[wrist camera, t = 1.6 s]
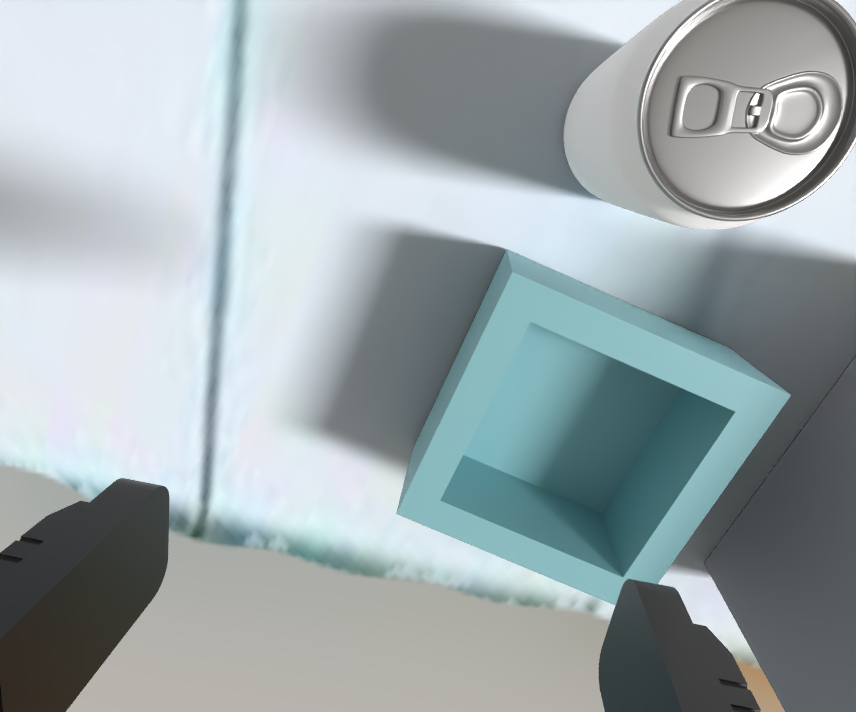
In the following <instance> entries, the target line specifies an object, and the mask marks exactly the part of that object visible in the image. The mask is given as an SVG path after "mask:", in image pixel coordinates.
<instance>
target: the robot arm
mask: <svg viewBox="0 0 856 712" xmlns="http://www.w3.org/2000/svg"><path fill="white" fill-rule="evenodd" d="M168 534H169V492H168V489H167V488H166V487H165V486H160V485H155V484H150V483H145V482H140V481H135V480H130V479H125V478H121V479H118V480H116V481H115V482H113V483H112V484H111V485H110V486H109V487H108V488H106V489H105V490H104V491H103V492H102V493H100V494H99V495H98V496H97V497H96V498H94V499H93V500H92V501H91V502H90V503H89V502H84V501H79V502H77V503H75V504H73V505H70V506H68V507H66V508H64V509H61V510H60V511H57V512H55V513H52V514H50V515H48V516H46V517H45V518H44V519H42V520H41V521H40V522H39V523H37V524H36V525H35V526H34V527H33V528H31V529H30V530H29V531H27V532H26V533H25V534H23V535H22V536H21V539H20V541H15V542H13V543H12V544H11V545H10V546H8V547H7V548H6V549H5V550H3V551H2V552H1V553H0V712H66V710H67V709H68V708H69V707H70V705H71V704H72V703H73V701H74V700H75V699H76V697H77V696H78V695H79V694H80V692H81V691H82V690H83V688H84V687H85V686H86V685H87V683H88V682H89V681H90V679H91V678H92V677H93V675H94V674H95V673H96V672H97V670H98V669H99V668H100V666H101V665H102V664H103V663H104V661H105V660H106V659H107V657H108V656H109V655H110V654H111V652H112V651H113V650H114V648H115V647H116V646H117V644H118V643H119V642H120V641H121V639H122V638H123V637H124V635H125V634H126V633H127V632H128V630H129V629H130V628H131V626H132V625H133V624H134V623H135V621H136V620H137V619H138V617H139V616H140V615H141V613H142V612H143V611H144V609H145V608H146V607H147V606H148V604H149V603H150V602H151V601H152V599H153V598H154V596H155V595H156V593H157V592H158V590H159V588H160V586H161V583H162V581H163V578H164V575H165V572H166V568H167V562H168ZM599 684H600V692H601V696H602V701H603V705H604V709H605V712H760V708H759V706H758V704H757V702H756V700H755V698H754V696H753V694H752V692H751V691H750V690H748V689H747V683H746V681H745V679H744V677H743V675H742V673H741V671H740V669H739V667H738V665H737V663H736V661H735V659H734V657H733V655H732V654H731V653H730V652H729V650H728V649H727V648H726V647H725V646H724V645H723V644H722V643H721V642H720V641H719V640H718V639H717V638H716V636H715V635H714V634H713V633H712V632H711V631H710V630H709V629H708V628H707V627H706V626H702V625H697V624H693V623H692V620H691V618H690V616H689V614H688V612H687V610H686V607H685V605H684V603H683V601H682V599H681V597H680V595H679V593H678V591H677V590H676V589H675V588H673V587H669V586H664V585H658V584H653V583H648V582H643V581H638V580H633V579H627V580H626V581H625V582H624V584H623V586H622V588H621V591H620V594H619V597H618V600H617V603H616V606H615V609H614V612H613V615H612V618H611V621H610V624H609V627H608V631H607V634H606V637H605V640H604V643H603V646H602V649H601V654H600V660H599Z"/></svg>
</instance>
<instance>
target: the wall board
mask: <svg viewBox="0 0 856 712" xmlns="http://www.w3.org/2000/svg"><path fill="white" fill-rule="evenodd" d="M704 564H705V566H706V568H707V569H708V571H709V573H710V575H711V577H712V579H713V580H714V582H715V584H716V586H717V588H718V590H719V591H720V593H721V595H722V597H723V599H724V601H725V602H726V604H727V606H728V608H729V610H730V612H731V613H732V615H733V617H734V619H735V621H736V622H737V624H738V626H739V628H740V630H741V632H742V633H743V635H744V637H745V639H746V641H747V643H748V644H749V646H750V648H751V650H752V652H753V654H754V655H755V657H756V659H757V661H758V663H759V665H760V666H761V668H762V670H763V672H764V674H765V675H766V677H767V679H768V681H769V683H770V685H771V686H772V688H773V690H774V692H775V693H776V696H777V697H778V699H779V701H780V703H781V705H782V707H783V708H784V710H785V712H856V356H855V358H854V359H853V360H852V362H851V363H850V364H849V366H848V367H847V369H846V370H845V371H844V373H843V374H842V375H841V377H840V378H839V379H838V381H837V382H836V384H835V385H834V386H833V388H832V389H831V390H830V392H829V393H828V394H827V396H826V397H825V399H824V400H823V401H822V403H821V404H820V405H819V407H818V408H817V409H816V411H815V412H814V414H813V415H812V416H811V418H810V419H809V420H808V422H807V423H806V424H805V426H804V427H803V429H802V430H801V431H800V433H799V434H798V435H797V437H796V438H795V440H794V441H793V442H792V444H791V445H790V446H789V448H788V449H787V450H786V452H785V453H784V455H783V456H782V457H781V459H780V460H779V461H778V463H777V464H776V465H775V467H774V468H773V470H772V471H771V472H770V474H769V475H768V476H767V478H766V479H765V480H764V482H763V483H762V485H761V486H760V487H759V489H758V490H757V491H756V493H755V494H754V495H753V497H752V498H751V500H750V501H749V502H748V504H747V505H746V506H745V508H744V509H743V510H742V512H741V513H740V515H739V516H738V517H737V519H736V520H735V521H734V523H733V524H732V525H731V527H730V528H729V530H728V531H727V532H726V534H725V535H724V536H723V538H722V539H721V541H720V542H719V543H718V545H717V546H716V547H715V549H714V550H713V551H712V553H711V554H710V556H709V557H708V558H707V560H706V561H705V562H704Z"/></svg>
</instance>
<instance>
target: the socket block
mask: <svg viewBox="0 0 856 712" xmlns="http://www.w3.org/2000/svg"><path fill="white" fill-rule="evenodd" d="M790 396H791V394H789V393H788V392H787V391H785V390H784V389H783V388H781V387H780V386H779V385H777V384H776V383H775V382H774V381H772V380H771V379H770V378H768V377H767V376H766V375H764V374H763V373H762V372H760V371H759V370H758V369H756V368H755V367H754V366H753V365H751V364H750V363H749V362H747V361H746V360H745V359H743V358H742V357H741V356H739V355H738V354H737V353H735V352H734V351H733V350H732V349H730V348H728V347H726V346H724V345H721V344H719V343H717V342H715V341H712V340H710V339H708V338H706V337H703V336H701V335H699V334H697V333H694V332H692V331H690V330H688V329H685V328H683V327H681V326H679V325H676V324H674V323H672V322H670V321H667V320H665V319H663V318H661V317H658V316H656V315H654V314H652V313H649V312H647V311H645V310H643V309H640V308H638V307H636V306H634V305H631V304H629V303H627V302H625V301H622V300H620V299H618V298H616V297H613V296H611V295H609V294H607V293H604V292H602V291H600V290H598V289H595V288H593V287H591V286H589V285H586V284H584V283H582V282H580V281H577V280H575V279H573V278H571V277H568V276H566V275H564V274H562V273H559V272H557V271H555V270H553V269H550V268H548V267H546V266H544V265H541V264H539V263H537V262H535V261H532V260H530V259H528V258H526V257H523V256H521V255H519V254H517V253H514V252H512V251H510V250H508V249H507V250H506V252H505V254H504V256H503V258H502V260H501V262H500V264H499V267H498V269H497V271H496V273H495V275H494V277H493V279H492V282H491V284H490V286H489V288H488V290H487V292H486V294H485V296H484V299H483V301H482V303H481V305H480V307H479V309H478V311H477V313H476V316H475V318H474V320H473V322H472V324H471V326H470V328H469V330H468V333H467V335H466V337H465V339H464V341H463V343H462V345H461V348H460V350H459V352H458V354H457V356H456V358H455V360H454V362H453V365H452V367H451V369H450V371H449V373H448V375H447V377H446V379H445V382H444V384H443V386H442V388H441V390H440V392H439V394H438V397H437V399H436V401H435V403H434V405H433V407H432V409H431V411H430V414H429V416H428V418H427V420H426V422H425V424H424V426H423V428H422V431H421V433H420V435H419V437H418V439H417V441H416V443H415V445H414V448H413V450H412V453H411V457H410V461H409V465H408V469H407V473H406V477H405V481H404V485H403V489H402V493H401V497H400V501H399V505H398V509H397V513H396V514H398V515H401V516H403V517H405V518H408V519H410V520H412V521H415V522H417V523H420V524H422V525H424V526H427V527H429V528H432V529H434V530H436V531H439V532H441V533H444V534H446V535H448V536H451V537H453V538H456V539H458V540H460V541H463V542H465V543H468V544H470V545H472V546H475V547H477V548H480V549H482V550H484V551H487V552H489V553H492V554H494V555H496V556H499V557H501V558H503V559H506V560H508V561H511V562H513V563H515V564H518V565H520V566H523V567H525V568H527V569H530V570H532V571H535V572H537V573H539V574H542V575H544V576H547V577H549V578H551V579H554V580H556V581H559V582H561V583H563V584H566V585H568V586H571V587H573V588H575V589H578V590H580V591H583V592H585V593H587V594H590V595H592V596H595V597H597V598H599V599H602V600H604V601H606V602H609V603H611V604H614V605H616V603H617V600H618V597H619V594H620V591H621V588H622V586H623V584H624V582H625V581H626V580H627V579H633V580H638V581H643V582H648V583H653V584H658V583H659V581H660V580H661V578H662V577H663V575H664V574H665V573H666V571H667V570H668V568H669V567H670V566H671V564H672V563H673V561H674V560H675V559H676V557H677V556H678V554H679V553H680V551H681V550H682V549H683V547H684V546H685V544H686V543H687V542H688V540H689V539H690V537H691V536H692V535H693V533H694V532H695V530H696V529H697V528H698V526H699V525H700V523H701V522H702V520H703V519H704V518H705V516H706V515H707V513H708V512H709V511H710V509H711V508H712V506H713V505H714V504H715V502H716V501H717V499H718V498H719V496H720V495H721V494H722V492H723V491H724V489H725V488H726V487H727V485H728V484H729V482H730V481H731V480H732V478H733V477H734V475H735V474H736V472H737V471H738V470H739V468H740V467H741V465H742V464H743V463H744V461H745V460H746V458H747V457H748V456H749V454H750V453H751V451H752V450H753V448H754V447H755V446H756V444H757V443H758V441H759V440H760V439H761V437H762V436H763V434H764V433H765V432H766V430H767V429H768V427H769V426H770V424H771V423H772V422H773V420H774V419H775V417H776V416H777V415H778V413H779V412H780V410H781V409H782V408H783V406H784V405H785V403H786V402H787V400H788V399H789V398H790Z"/></svg>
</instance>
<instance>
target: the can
mask: <svg viewBox="0 0 856 712" xmlns="http://www.w3.org/2000/svg"><path fill="white" fill-rule="evenodd" d="M855 143H856V23H855V21H854V20H853V18H852V17H851V16H850V14H849V13H848V12H847V11H846V10H845V9H844V8H843V7H842V6H841V5H840V4H839V3H838V2H836V1H835V0H683V1H681V2H679V3H678V4H676V5H675V6H673V7H672V8H670V9H669V10H667V11H666V12H665V13H663V14H662V15H660V16H659V17H658V18H657V19H655V20H654V21H653V22H652V23H650V24H649V25H648V26H646V27H645V28H644V29H643V30H642V31H640V32H639V33H638V34H637V35H635V36H634V37H633V38H632V39H630V40H629V41H628V42H627V43H626V44H624V45H623V46H622V47H621V48H620V49H618V50H617V51H616V52H615V53H614V54H612V55H611V56H610V57H609V58H608V59H606V60H605V61H604V62H603V63H602V64H601V65H599V66H598V67H597V68H596V69H595V70H594V71H593V72H592V73H591V74H590V75H589V76H588V77H587V78H586V79H585V80H584V82H583V83H582V84H581V86H580V87H579V89H578V90H577V92H576V94H575V95H574V97H573V99H572V101H571V104H570V106H569V109H568V112H567V115H566V119H565V125H564V149H565V154H566V158H567V161H568V164H569V166H570V168H571V170H572V172H573V174H574V176H575V177H576V178H577V180H578V181H579V182H580V184H581V185H582V186H583V187H584V188H585V189H586V190H588V191H589V192H590V193H591V194H593V195H594V196H596V197H598V198H599V199H602V200H604V201H606V202H608V203H611V204H613V205H616V206H619V207H622V208H625V209H628V210H631V211H633V212H636V213H639V214H642V215H645V216H648V217H651V218H655V219H658V220H661V221H664V222H667V223H671V224H674V225H678V226H682V227H687V228H693V229H726V228H733V227H738V226H742V225H745V224H749V223H752V222H754V221H757V220H760V219H762V218H764V217H767V216H770V215H773V214H776V213H779V212H781V211H783V210H786V209H788V208H790V207H792V206H794V205H796V204H797V203H799V202H801V201H802V200H804V199H805V198H807V197H808V196H810V195H811V194H812V193H814V192H815V191H816V190H817V189H819V188H820V187H821V186H822V185H823V184H824V183H825V182H826V181H827V180H828V179H830V177H831V176H832V175H833V174H834V173H835V172H836V171H837V170H838V168H839V167H840V166H841V165H842V163H843V162H844V161H845V159H846V158H847V156H848V155H849V153H850V152H851V150H852V148H853V147H854V145H855Z"/></svg>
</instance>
